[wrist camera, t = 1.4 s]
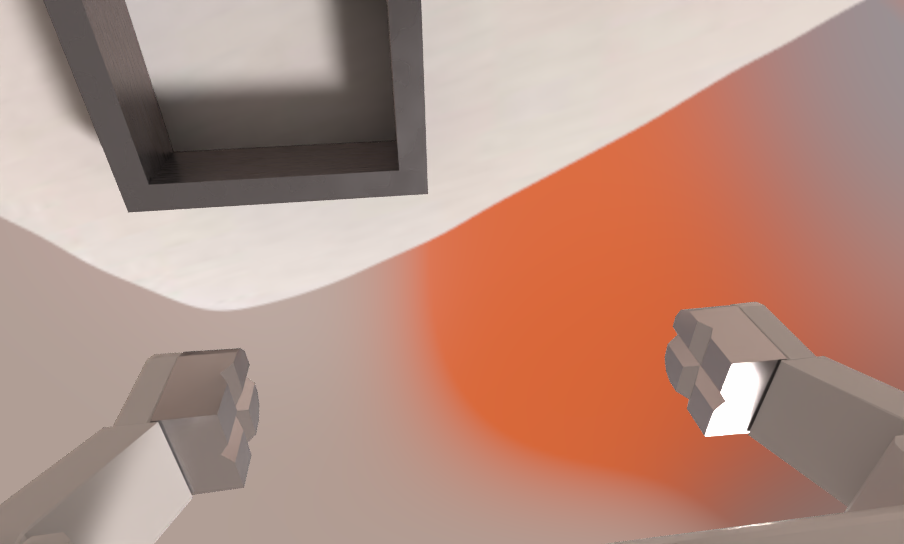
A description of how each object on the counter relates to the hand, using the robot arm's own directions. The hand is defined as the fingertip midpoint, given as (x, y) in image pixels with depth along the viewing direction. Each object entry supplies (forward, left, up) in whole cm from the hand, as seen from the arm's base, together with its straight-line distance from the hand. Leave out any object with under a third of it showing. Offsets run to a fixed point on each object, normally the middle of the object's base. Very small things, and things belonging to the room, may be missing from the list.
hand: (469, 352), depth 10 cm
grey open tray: (0, -7, -22) cm, 23 cm away
